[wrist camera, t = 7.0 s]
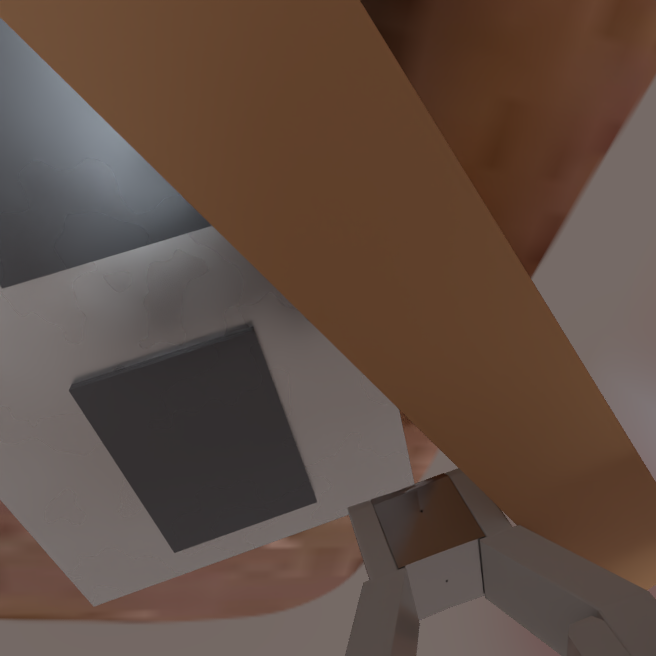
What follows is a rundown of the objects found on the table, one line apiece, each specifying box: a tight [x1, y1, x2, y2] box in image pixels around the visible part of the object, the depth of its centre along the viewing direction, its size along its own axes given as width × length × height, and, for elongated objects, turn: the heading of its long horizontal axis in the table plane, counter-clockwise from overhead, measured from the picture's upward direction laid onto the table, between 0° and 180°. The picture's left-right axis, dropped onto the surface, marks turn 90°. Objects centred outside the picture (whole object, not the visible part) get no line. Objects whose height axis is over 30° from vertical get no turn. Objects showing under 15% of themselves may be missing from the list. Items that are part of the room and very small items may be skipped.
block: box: [0, 18, 414, 606], centre depth 10 cm, size 24×12×6 cm, turn 14°
